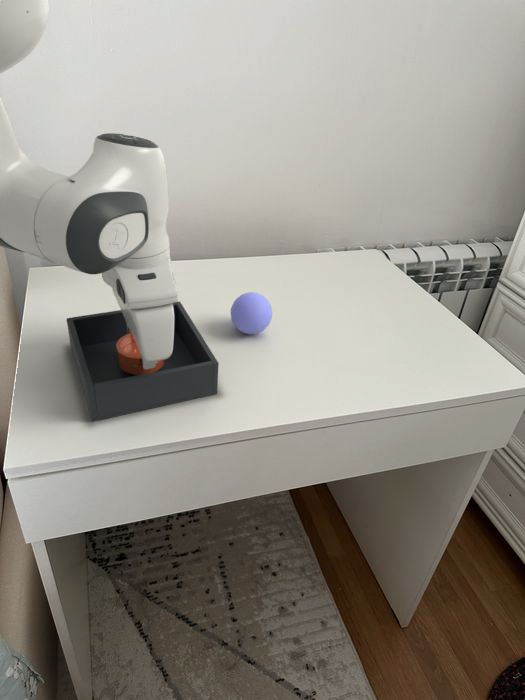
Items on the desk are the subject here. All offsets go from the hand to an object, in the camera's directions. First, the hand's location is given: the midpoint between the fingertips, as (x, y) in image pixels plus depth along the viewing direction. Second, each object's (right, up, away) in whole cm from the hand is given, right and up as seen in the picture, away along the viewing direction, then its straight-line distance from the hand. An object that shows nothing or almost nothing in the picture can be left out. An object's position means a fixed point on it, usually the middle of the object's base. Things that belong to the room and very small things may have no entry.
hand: (141, 350), depth 78 cm
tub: (0, -3, +2) cm, 4 cm away
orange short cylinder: (0, -2, +1) cm, 2 cm away
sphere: (+16, +3, +14) cm, 21 cm away
